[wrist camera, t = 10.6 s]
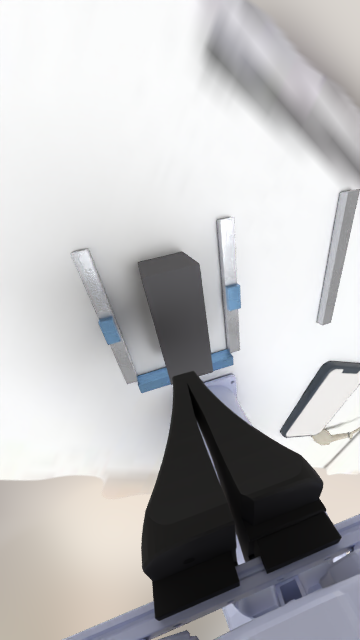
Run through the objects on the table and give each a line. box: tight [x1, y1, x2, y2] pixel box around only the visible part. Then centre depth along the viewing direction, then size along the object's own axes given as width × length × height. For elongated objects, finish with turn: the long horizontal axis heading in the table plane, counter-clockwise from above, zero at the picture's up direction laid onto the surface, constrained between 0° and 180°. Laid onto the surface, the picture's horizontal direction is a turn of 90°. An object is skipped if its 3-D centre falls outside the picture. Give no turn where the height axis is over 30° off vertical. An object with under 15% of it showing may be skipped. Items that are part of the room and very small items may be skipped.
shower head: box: [312, 427, 360, 445], centre depth 40 cm, size 5×3×20 cm
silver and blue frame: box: [71, 189, 360, 393], centre depth 21 cm, size 15×25×2 cm, turn 101°
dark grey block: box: [138, 252, 213, 385], centre depth 18 cm, size 10×4×5 cm, turn 10°
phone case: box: [280, 361, 360, 438], centre depth 34 cm, size 9×2×16 cm
